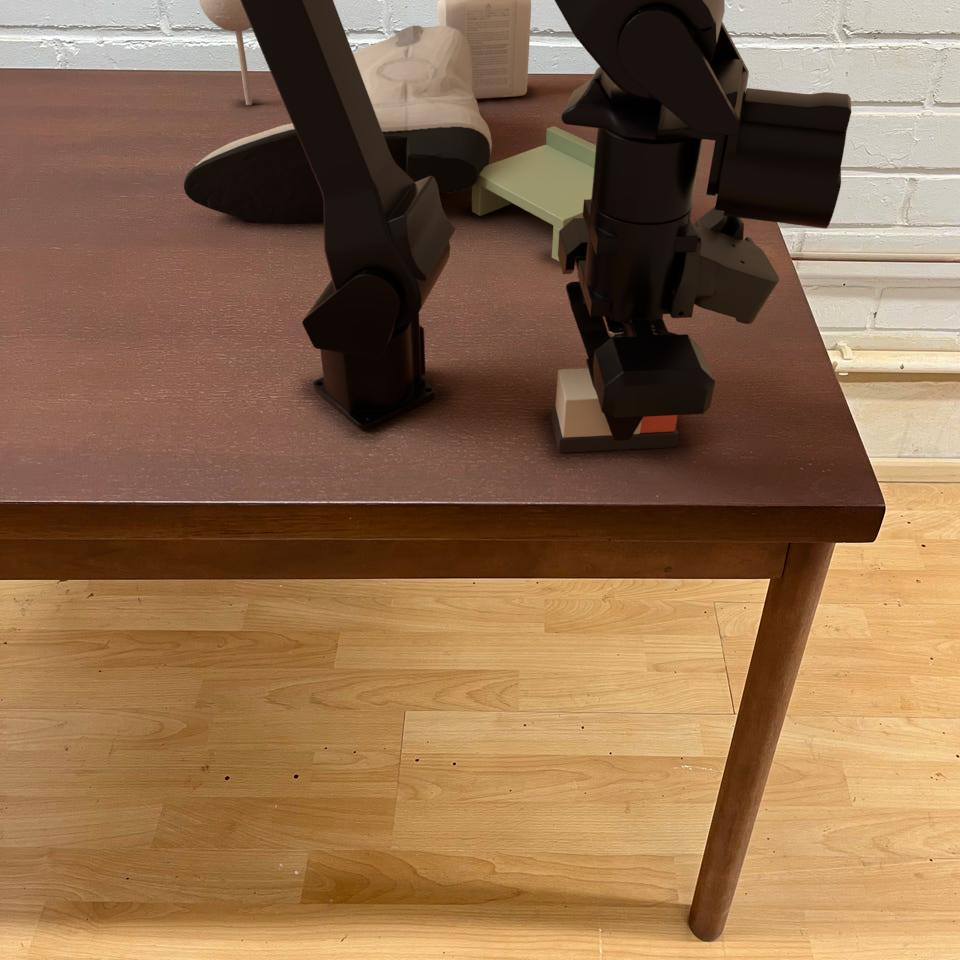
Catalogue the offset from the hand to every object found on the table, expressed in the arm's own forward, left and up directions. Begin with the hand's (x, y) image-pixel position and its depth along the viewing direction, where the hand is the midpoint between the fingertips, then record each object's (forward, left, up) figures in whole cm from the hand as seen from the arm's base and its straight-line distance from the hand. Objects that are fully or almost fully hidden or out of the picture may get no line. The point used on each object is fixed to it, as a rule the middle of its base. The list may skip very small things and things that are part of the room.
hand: (614, 415), depth 68 cm
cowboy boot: (+10, +46, -1) cm, 47 cm away
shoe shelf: (+18, +25, -2) cm, 31 cm away
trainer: (0, 0, -2) cm, 2 cm away
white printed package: (+32, +52, -2) cm, 61 cm away
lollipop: (+10, +66, -2) cm, 67 cm away
